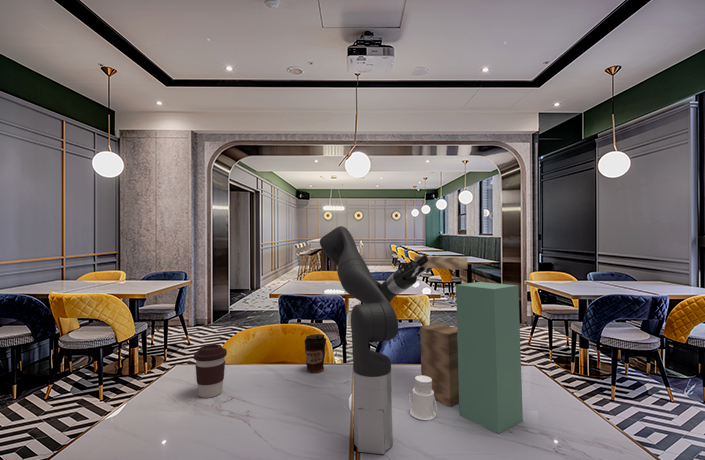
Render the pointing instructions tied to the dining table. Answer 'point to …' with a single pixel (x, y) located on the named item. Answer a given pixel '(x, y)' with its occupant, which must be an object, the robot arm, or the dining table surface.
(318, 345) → the coffee cup
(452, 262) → the beech bar
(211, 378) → the coffee cup
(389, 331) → the robot arm
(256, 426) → the dining table surface
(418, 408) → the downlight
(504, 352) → the green stand
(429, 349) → the walnut block
